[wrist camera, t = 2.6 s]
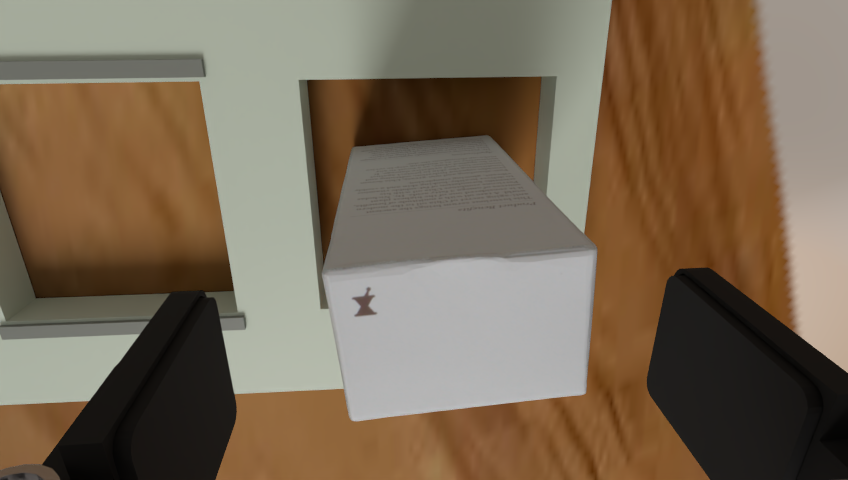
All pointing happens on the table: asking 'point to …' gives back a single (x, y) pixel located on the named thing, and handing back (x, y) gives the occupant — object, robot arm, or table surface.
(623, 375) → the table surface
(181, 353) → the robot arm
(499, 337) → the skincare box
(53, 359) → the socket board
